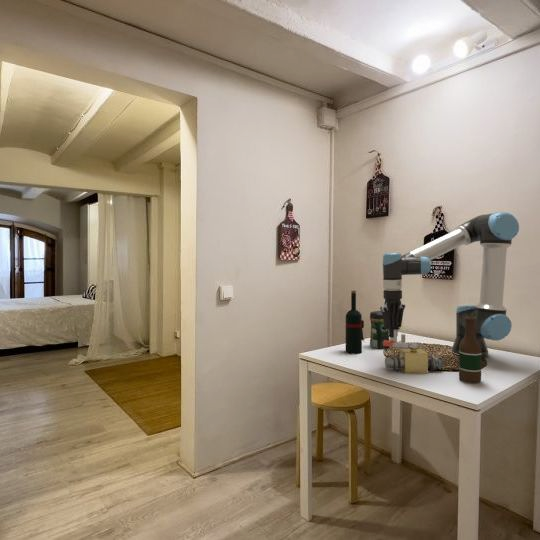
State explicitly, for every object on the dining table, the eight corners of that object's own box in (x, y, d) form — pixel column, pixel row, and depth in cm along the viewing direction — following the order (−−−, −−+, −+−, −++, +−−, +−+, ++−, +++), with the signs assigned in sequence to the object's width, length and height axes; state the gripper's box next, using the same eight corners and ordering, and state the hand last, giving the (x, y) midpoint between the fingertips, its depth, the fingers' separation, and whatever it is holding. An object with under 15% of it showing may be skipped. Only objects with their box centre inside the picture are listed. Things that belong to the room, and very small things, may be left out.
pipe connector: (411, 352, 182) (411, 332, 182) (417, 358, 172) (417, 337, 172) (389, 352, 183) (389, 332, 183) (394, 358, 173) (394, 336, 173)
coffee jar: (381, 344, 200) (381, 309, 199) (392, 347, 193) (392, 311, 192) (366, 346, 196) (366, 310, 195) (377, 349, 188) (377, 312, 188)
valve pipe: (437, 367, 159) (437, 346, 158) (444, 373, 152) (444, 350, 151) (384, 367, 160) (384, 346, 159) (388, 373, 153) (388, 350, 152)
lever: (420, 347, 156) (420, 343, 156) (418, 350, 152) (418, 345, 152) (385, 343, 163) (385, 339, 163) (382, 346, 160) (382, 341, 159)
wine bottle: (369, 352, 185) (369, 290, 183) (352, 354, 180) (352, 291, 179) (358, 348, 192) (358, 289, 190) (342, 351, 187) (341, 290, 186)
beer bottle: (462, 375, 149) (462, 314, 148) (484, 380, 143) (485, 316, 142) (455, 380, 143) (455, 317, 142) (478, 385, 138) (478, 319, 137)
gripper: (388, 291, 154) (389, 348, 155) (410, 288, 161) (410, 344, 162) (375, 290, 161) (376, 345, 162) (396, 287, 167) (396, 340, 168)
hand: (393, 344), depth 162 cm, fingers closed
